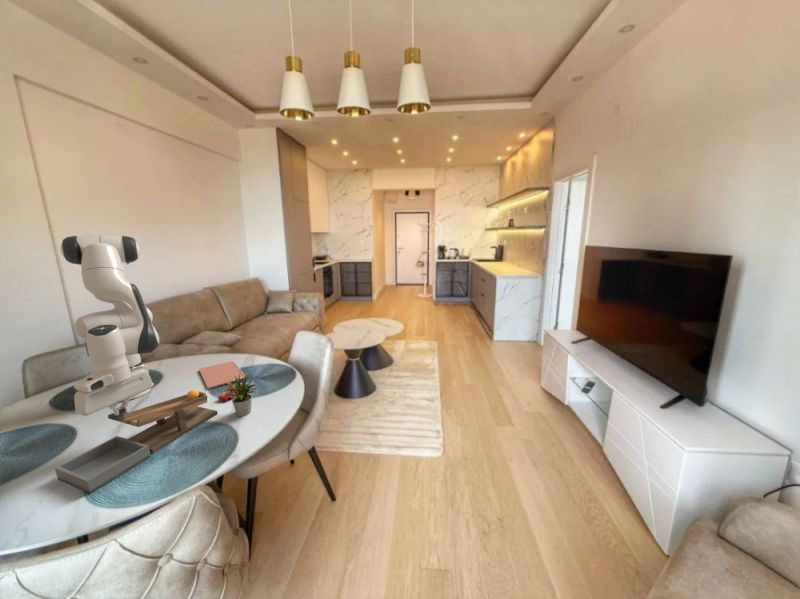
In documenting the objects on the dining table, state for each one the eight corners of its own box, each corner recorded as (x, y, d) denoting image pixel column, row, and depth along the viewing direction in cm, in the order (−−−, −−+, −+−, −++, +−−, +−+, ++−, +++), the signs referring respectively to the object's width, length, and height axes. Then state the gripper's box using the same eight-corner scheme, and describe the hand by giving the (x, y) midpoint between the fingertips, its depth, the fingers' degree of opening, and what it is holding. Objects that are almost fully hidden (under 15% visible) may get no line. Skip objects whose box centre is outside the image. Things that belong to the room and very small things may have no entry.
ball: (183, 400, 121) (185, 389, 122) (193, 398, 125) (195, 388, 125) (191, 402, 120) (192, 391, 120) (200, 400, 124) (202, 389, 124)
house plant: (228, 429, 115) (222, 388, 112) (215, 415, 124) (209, 376, 121) (267, 413, 125) (262, 374, 122) (252, 401, 135) (247, 365, 131)
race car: (224, 404, 133) (223, 395, 132) (215, 401, 135) (214, 393, 134) (250, 389, 145) (249, 381, 144) (241, 387, 147) (240, 379, 146)
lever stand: (125, 444, 108) (120, 420, 106) (192, 408, 130) (188, 388, 128) (153, 453, 103) (148, 428, 101) (217, 414, 125) (214, 393, 123)
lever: (107, 420, 107) (108, 407, 106) (178, 398, 129) (179, 387, 129) (139, 429, 101) (139, 416, 101) (207, 404, 124) (207, 393, 124)
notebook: (247, 380, 156) (247, 376, 155) (208, 391, 145) (207, 387, 145) (234, 363, 176) (234, 359, 176) (199, 372, 166) (198, 368, 165)
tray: (57, 479, 93) (54, 467, 92) (119, 446, 107) (117, 435, 106) (90, 493, 87) (87, 481, 87) (150, 456, 102) (148, 445, 101)
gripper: (140, 361, 115) (147, 396, 117) (66, 387, 96) (77, 428, 99) (152, 363, 112) (159, 399, 115) (79, 390, 94) (89, 432, 96)
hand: (121, 413), depth 107 cm, fingers closed
